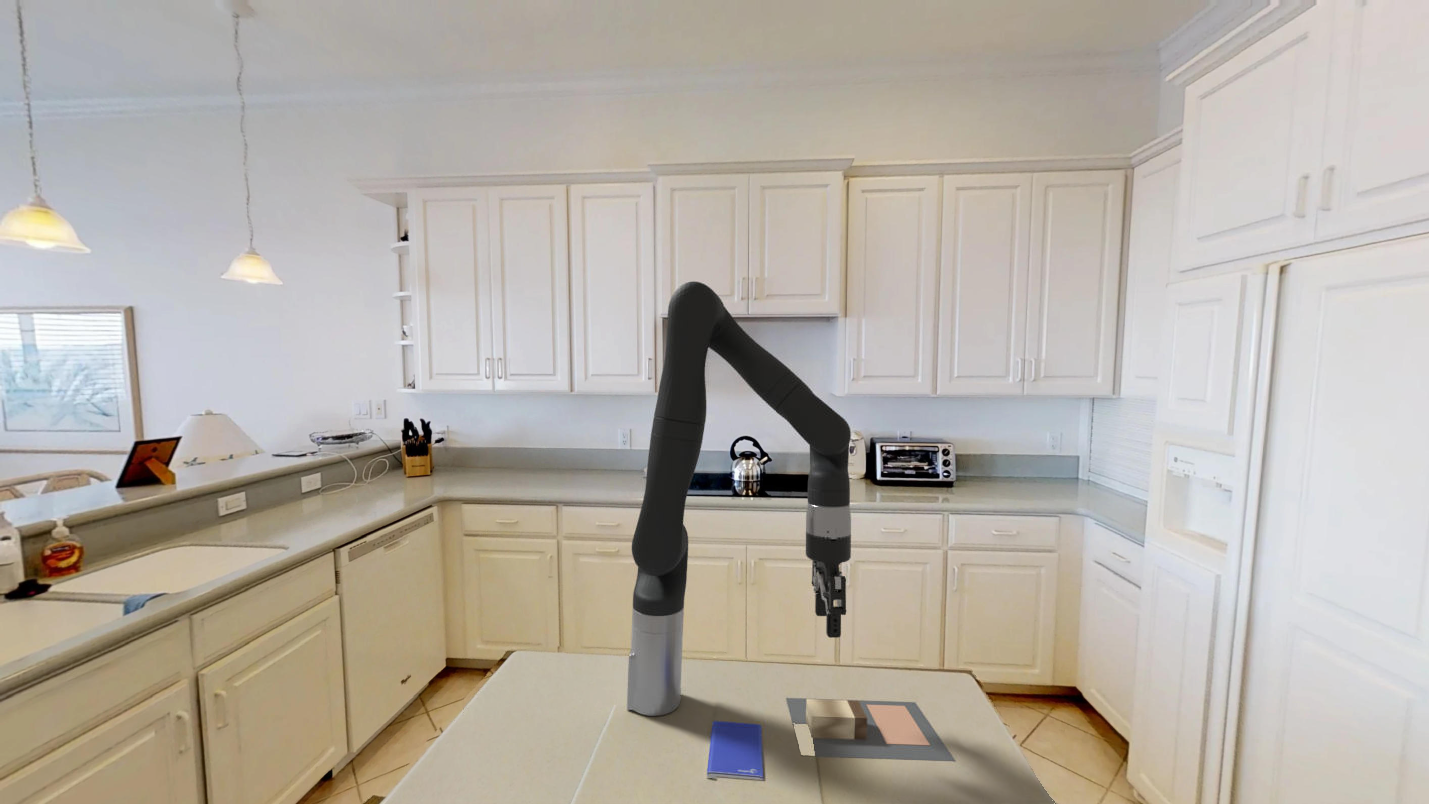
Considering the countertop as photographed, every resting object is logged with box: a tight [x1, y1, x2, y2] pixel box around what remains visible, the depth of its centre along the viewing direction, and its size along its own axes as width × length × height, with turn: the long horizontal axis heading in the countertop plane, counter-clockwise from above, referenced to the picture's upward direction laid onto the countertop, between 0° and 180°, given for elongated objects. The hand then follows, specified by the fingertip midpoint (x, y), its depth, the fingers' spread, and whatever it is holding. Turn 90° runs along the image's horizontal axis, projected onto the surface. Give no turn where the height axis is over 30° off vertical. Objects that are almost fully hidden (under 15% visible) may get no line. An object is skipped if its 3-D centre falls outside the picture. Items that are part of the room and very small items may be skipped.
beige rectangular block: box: [806, 698, 867, 740], centre depth 88 cm, size 9×5×4 cm, turn 90°
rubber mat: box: [785, 697, 956, 762], centre depth 89 cm, size 24×16×1 cm, turn 90°
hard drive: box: [706, 720, 764, 781], centre depth 82 cm, size 2×8×12 cm
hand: (827, 625), depth 89 cm, fingers open, 8 cm apart
